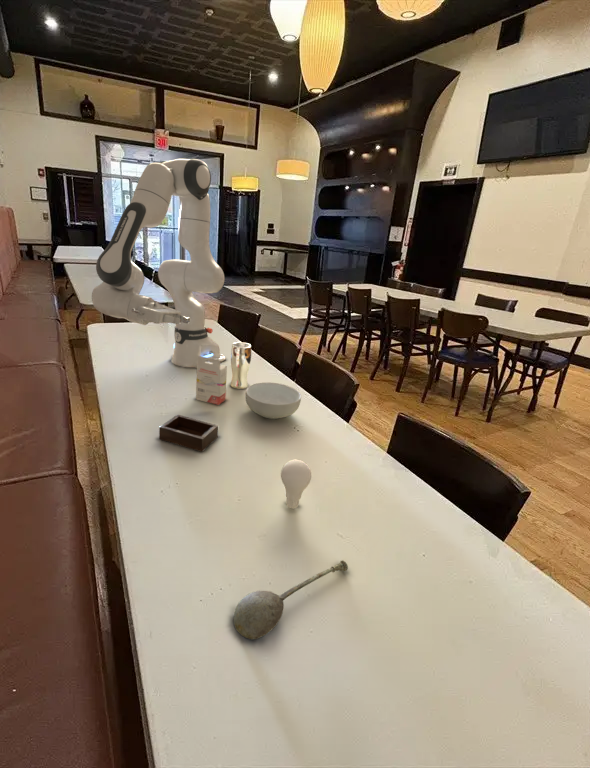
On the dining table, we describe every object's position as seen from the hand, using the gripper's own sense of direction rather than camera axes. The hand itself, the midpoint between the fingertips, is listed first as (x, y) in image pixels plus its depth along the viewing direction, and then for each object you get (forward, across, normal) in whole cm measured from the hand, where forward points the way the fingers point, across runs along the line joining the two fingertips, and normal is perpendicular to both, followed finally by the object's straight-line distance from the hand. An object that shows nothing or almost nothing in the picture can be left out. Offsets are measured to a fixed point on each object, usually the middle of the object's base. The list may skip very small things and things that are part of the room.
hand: (185, 321), depth 128 cm
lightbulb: (+44, -45, +27) cm, 68 cm away
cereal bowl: (+33, -2, +20) cm, 39 cm away
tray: (+15, -24, +27) cm, 39 cm away
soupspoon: (+46, -67, +31) cm, 87 cm away
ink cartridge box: (+13, +2, +23) cm, 26 cm away
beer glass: (+19, +16, +19) cm, 31 cm away
